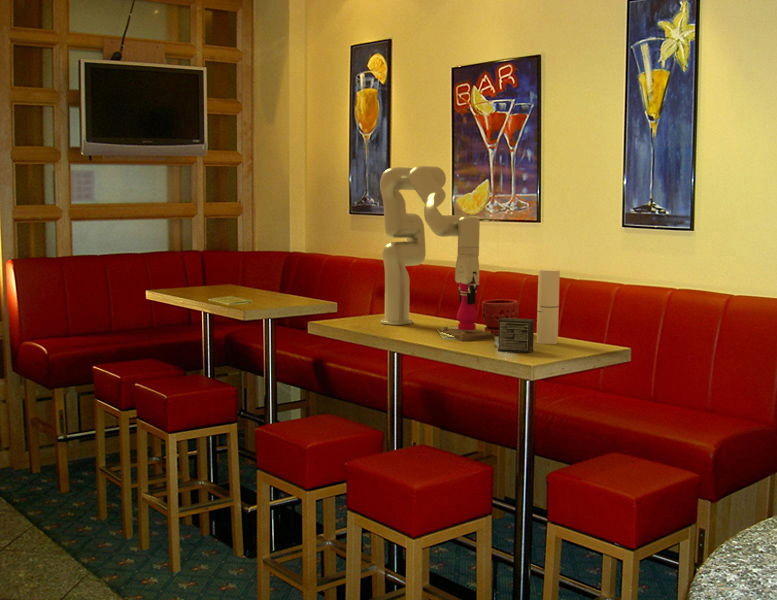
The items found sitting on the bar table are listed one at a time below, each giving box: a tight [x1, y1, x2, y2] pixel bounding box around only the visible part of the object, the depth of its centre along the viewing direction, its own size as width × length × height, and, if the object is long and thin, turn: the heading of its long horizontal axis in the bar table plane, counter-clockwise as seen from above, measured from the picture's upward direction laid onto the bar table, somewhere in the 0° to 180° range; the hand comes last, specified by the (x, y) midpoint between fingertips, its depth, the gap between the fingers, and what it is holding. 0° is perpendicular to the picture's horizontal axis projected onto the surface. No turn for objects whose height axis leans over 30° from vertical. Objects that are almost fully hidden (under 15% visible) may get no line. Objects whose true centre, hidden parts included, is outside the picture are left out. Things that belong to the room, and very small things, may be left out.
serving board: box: [439, 326, 496, 342], centre depth 333 cm, size 17×13×3 cm
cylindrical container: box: [536, 268, 561, 345], centre depth 321 cm, size 7×7×25 cm
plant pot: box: [481, 298, 519, 336], centre depth 342 cm, size 13×13×12 cm
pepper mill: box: [456, 282, 478, 330], centre depth 332 cm, size 7×7×20 cm
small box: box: [497, 318, 535, 354], centre depth 304 cm, size 11×6×10 cm, turn 69°
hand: (467, 302), depth 332 cm, fingers closed on pepper mill, 5 cm apart
